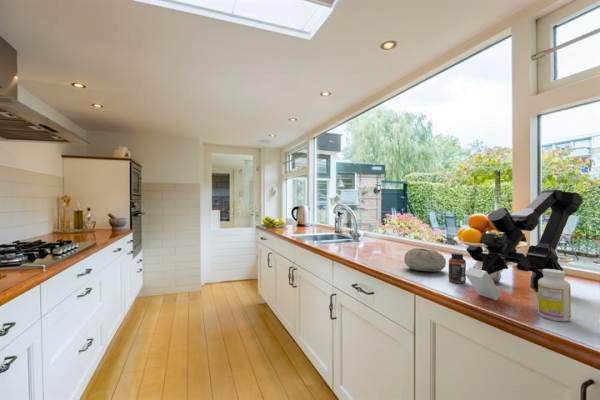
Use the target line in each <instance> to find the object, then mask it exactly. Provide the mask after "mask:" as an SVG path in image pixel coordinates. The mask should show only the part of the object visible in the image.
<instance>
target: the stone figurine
mask: <svg viewBox="0 0 600 400" xmlns="http://www.w3.org/2000/svg"><path fill="white" fill-rule="evenodd" d="M485 233H489V234H495V235H498V231H491V230H490V231H486V232H485ZM485 246H486V245H485V244H483V243H482V242H481V248H482V249H483V250H488V249H486V248H485ZM489 276H490V277H491V279H492V280H493V282H494V283H499V282H500V281H501V279H502V273H501V270H500V271H497V272H495V273H492V274H490V275H489Z"/></svg>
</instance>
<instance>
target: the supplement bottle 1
mask: <svg viewBox="0 0 600 400" xmlns="http://www.w3.org/2000/svg"><path fill="white" fill-rule="evenodd" d="M466 264H467V263H466V259H464V254H463V253H461V252H452V253H451V257H450V258H449V259H448V281H449V282H451V283H453V284H454V283H455V284H465V283H466V279H467V276H466V275H465V272H466V271H467V265H466Z"/></svg>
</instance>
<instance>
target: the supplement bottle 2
mask: <svg viewBox="0 0 600 400" xmlns="http://www.w3.org/2000/svg"><path fill="white" fill-rule="evenodd" d="M542 274H543V275H544V277H543V278H540V279H539V280H538V291H537V300H538V301H537V309H538V315H540V317H542V318H545V319H548V320H551V321H554V322H555V321H556V322H570V321H571V320H572V312H571V311H572V307H571V306H572V305H571V303H572V302H571V297H572V296H571V295H572V293H571V283H570V282H569V281H568V280H565V277H566V271H564V270H563V271H561V270H555V269H543V270H542Z"/></svg>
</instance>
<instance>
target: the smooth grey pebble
mask: <svg viewBox="0 0 600 400" xmlns="http://www.w3.org/2000/svg"><path fill="white" fill-rule="evenodd" d="M403 261H404V264H405V266H407V267H408V268H410V269H411V270H414V271H417V272H418V271H419V272H438V271H442V270H444V268H445V267H446V264H447V262H446V258H445V256H444V255H443V254H442V253H440V252H438V251H436V250H433V249H432V250H431V249H427V248H421V247H417V248H416V247H415V248H414V247H413V248H411V249H409V250H407V252H406V253H404V259H403Z"/></svg>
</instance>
